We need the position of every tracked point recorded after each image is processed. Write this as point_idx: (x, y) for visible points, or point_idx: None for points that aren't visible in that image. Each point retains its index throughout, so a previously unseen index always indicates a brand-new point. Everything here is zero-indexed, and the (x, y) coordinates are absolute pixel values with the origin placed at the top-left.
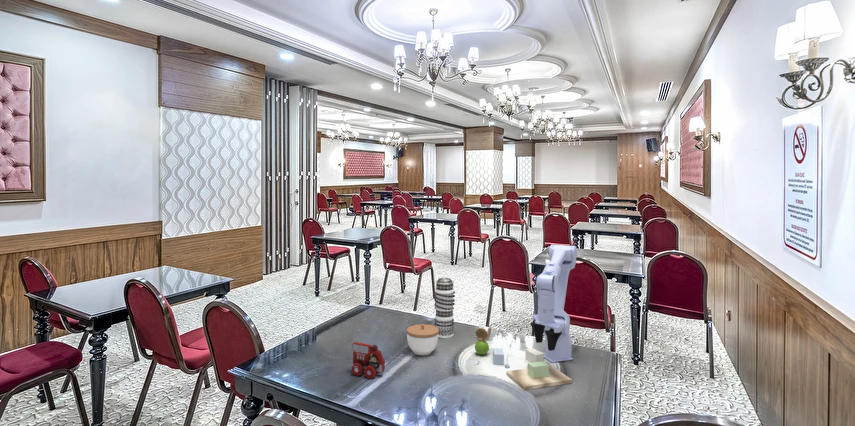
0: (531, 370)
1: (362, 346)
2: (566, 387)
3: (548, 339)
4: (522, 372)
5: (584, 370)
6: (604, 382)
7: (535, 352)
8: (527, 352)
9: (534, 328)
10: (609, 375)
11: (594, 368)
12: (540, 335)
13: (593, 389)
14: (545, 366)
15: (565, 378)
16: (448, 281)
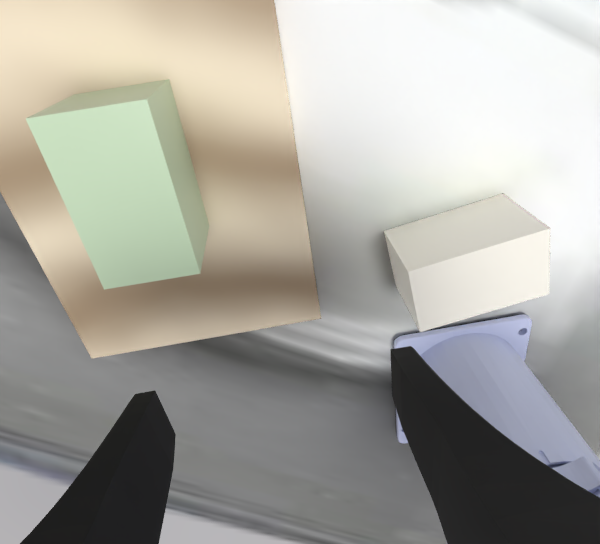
0: (78, 101)
1: None
2: (27, 295)
3: (51, 530)
4: (209, 42)
5: (264, 442)
6: None
7: (463, 284)
8: (515, 228)
9: (483, 506)
10: (200, 505)
11: (281, 481)
12: (423, 453)
13: (26, 410)
14: (93, 254)
15: (104, 331)
16: None
